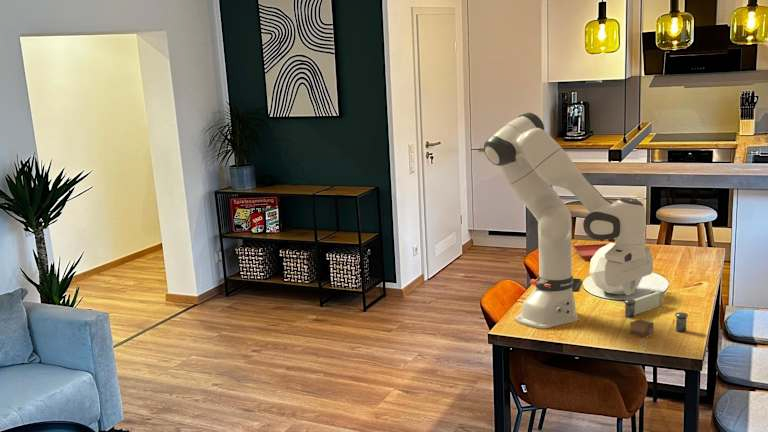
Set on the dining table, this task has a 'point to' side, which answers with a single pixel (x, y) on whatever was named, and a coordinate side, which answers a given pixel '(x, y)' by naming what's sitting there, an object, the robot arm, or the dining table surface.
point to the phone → (576, 284)
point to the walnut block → (641, 328)
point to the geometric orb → (599, 271)
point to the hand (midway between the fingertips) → (629, 293)
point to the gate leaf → (648, 302)
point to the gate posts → (680, 316)
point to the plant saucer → (588, 250)
